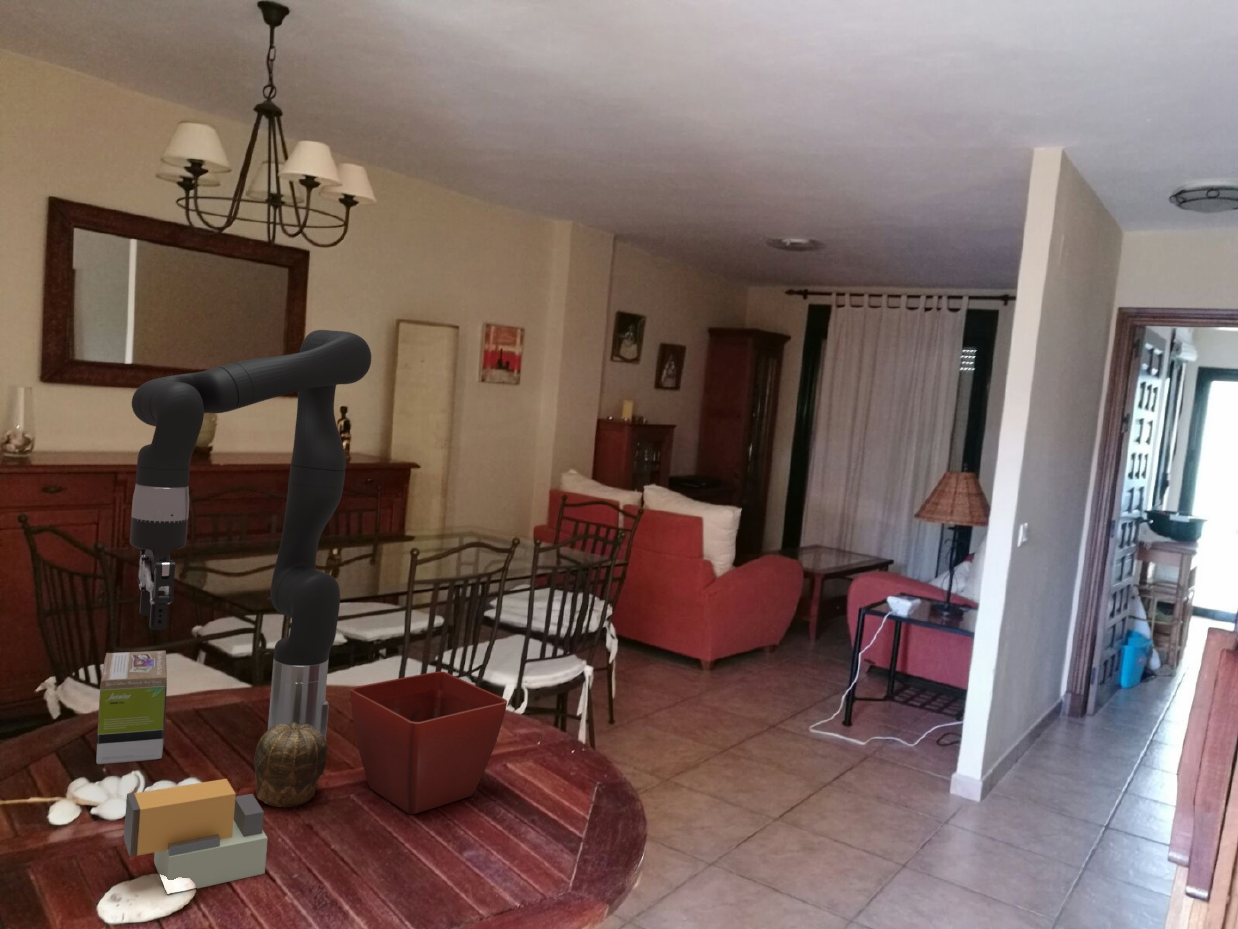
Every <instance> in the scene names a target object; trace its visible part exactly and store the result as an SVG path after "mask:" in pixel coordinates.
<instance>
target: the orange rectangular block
mask: <svg viewBox="0 0 1238 929" xmlns="http://www.w3.org/2000/svg"><path fill="white" fill-rule="evenodd" d="M236 795H237V794H236V792H235V790H234V789H233V787H232V785H231V784H230V782H229V781H228V779H227V778H223V779H222V778H221V779H216V780H209V781H203V782H195V783H192V784H191V783H190V784H186V785H185V784H184V785H178V786H173V787H166V788H161V789H153V790H147V791H141V792H128V793H126V800H125V801H126V802H125V814H124V815H125V816H124V828H123V829H124V830H123V832H124V833H123V842H124V843H125V847H126V850H127V853H128V856H129V858H132V857H138V856H142V855H147V854H153V853H155V852H158V851H163V850H168V844H169V843H174V842H179V841H184V840H190V839H195V838H200V837H205V836H211V835H216V834H219V836H220V839H225V838H230V837H232V833H233V821H234V808H235V797H236Z"/></svg>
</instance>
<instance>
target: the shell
mask: <svg viewBox="0 0 1238 929" xmlns="http://www.w3.org/2000/svg"><path fill="white" fill-rule="evenodd" d="M327 758H328V744H327V739H326V740H325V738H324V736H323V735H322V734H321V733H320V732H319V731H317V730H316V729H315V728H314V727H312V726H311V725H309V724H304V725H299V724H297V723H295V722H292V723H290V724H287V725H286V724H277V725H274V726H273V727H271V728H270V729H269V730H268V729H267V731H265V732H264V733H263V734H262V736H261V737H260V738H259V741H258V743H257V745H256V749H255V753H254V756H253V767H254V782H255V783H254V788H255V792H256V796H257V799H258V800H260V801H261V802H263V803H264V804H266V805H268V806H272V807H273V806H274V807H273V808H275V807H276V808H281V807H283V809H286V807H288V808H293V807H292V806H295V807H299V806H301V804H302V805H304V804H306V803H308V801H309V800H310V799H311V800H312V799H313V798H314V797H313V796H315V795H316V792H317V788H318V782H319V778H320V777H321V776H322V775H323V774H324V771H325V769H326V765H327ZM311 800H310V801H311ZM310 801H309V802H310ZM298 805H299V806H298Z"/></svg>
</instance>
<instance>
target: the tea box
mask: <svg viewBox="0 0 1238 929" xmlns="http://www.w3.org/2000/svg"><path fill="white" fill-rule="evenodd" d="M167 668H168V666H167V652H166V650H150V651H131V652H130V651H128V652H127V651H126V652H125V651H124V652H106V653H105V657H104V663H103V669H102V674H101V678H100V685H99V701H98V720H97V736H96V737H97V740H96V761H95V762H96V764H97V765H105V764H106V765H108V764H120V763H129V762H130V763H131V762H132V763H133V762H142V761H152V760H153V761H155V760H159V759H162V758H163V749H164V737H165V726H166V709H167V692H168V680H167V679H168V677H167V675H168V674H167V673H168V672H167Z"/></svg>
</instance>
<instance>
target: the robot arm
mask: <svg viewBox="0 0 1238 929" xmlns="http://www.w3.org/2000/svg"><path fill="white" fill-rule="evenodd" d="M371 365H372V352H371V348H370V346H369V344H368V342H367V341H366V340H365V339H364V338H363V337H361V336H360V335H358V334H356V333H354V332H350V331H344V330H330V329H329V330H328V329H317V330H313V331H312V332H309V334H308V335H306V336H305V338H304V339H303V340H302V343H301V346H300V347H299V352H296V353H291V354H285V355H276V356H269V357H259V358H251V359H245V360H239V361H235V362H231V363H227V364H224V365H219V366H217V367H213V368H210V369H205V370H203V371H198V372H189V373H183V374H175V375H168V376H163V377H157V378H154V379H153V378H152V379H151V380H147V381H146V382H144V383H142V384H141V385H140V386H138V388H136V390H135V391H134V393H133V395H132V397H131V407H132V412H133V413H134V416H135V417H137V419H139V420H140V421H141V422H143V423H144V424H146V425H148V426H152V427H155V429H154V432H153V437H152V439H151V440H152V441H151V443H150V444H145V445H143V446H142V447H141V448H140V449H139V451H138V456H137V463H136V476H135V487H134V492H133V496H132V505H131V506H132V507H131V516H130V517H131V518H130V519H131V520H130V534H129V544H130V546H131V547H133V548H136V549H139V565H138V575H137V576H138V577H137V582H138V587H139V590H140V600H139V601H140V603H139V614H140V615H141V616H143V617H144V616H149V624H148V625H149V629H150V630H152V631H161V630H165V629H167V627H168V616H169V613H168V612H169V605H171V604H173V603H174V599H175V596H174V594H175V593H174V590H175V578H176V577H175V574H176V567H177V566H176V565H177V564H176V561H174V560H173V559H172V560H171V554H170V553H171V551H173V550H179V549H183V548H185V546H186V545H187V538H188V523H189V510H190V494H189V493H190V492H189V483H190V473H191V472H190V470H191V469H190V468H191V457H192V455H193V452H194V450H195V449H196V448H195V447H196V445H197V441H198V439H199V437H200V432H201V429H202V427H203V422H204V417H205V414H222V413H223V414H224V413H228V412H231V411H235V410H238V409H241V408H244V407H248V406H251V405H254V404H257V403H261V402H264V401H267V400H271V399H274V398H278V397H281V396H285V395H287V394H288V395H289V394H292V393H297V406H296V407H297V409H296V418H295V427H294V428H295V429H294V438H293V441H294V442H293V449H292V456H291V460H290V468H289V475H288V476H289V477H288V484H287V495H286V506H285V512H284V518H283V526H282V531H281V532H282V533H281V540H280V545H279V548H278V553H277V556H276V560H275V565H274V570H273V575H272V579H271V584H270V600H271V604H272V606H273V608H274V609H275V611H277V613H279V614H280V615H283V616H285V617H288V618H291V621H290V622H291V624H290V629H289V635H288V636H286V637H284V638H281V639H278V640H277V641H276V643H275V645H274V651H273V662H272V674H271V689H270V696H269V698H270V699H269V710H268V721H267V722H268V724H267V731H268V730H269V729H270V728H271V727H273V726H274V725H277V724H286V725H287V724H290V723H292V722H295V723H297V724H299V725H304V724H309V725H311V726H312V727H314V728H315V729H316V730H317V731H319V732H320V733H321V734H322V735H323V736H324V738H325V740H326V741H327V730H328V728H327V727H328V719H329V707H330V706H329V704H330V703H329V702H328V700H326V692H327V684H328V683H327V681H328V670H329V658H330V651H331V649H332V647H333V645H334V643H335V639H336V635H337V629H338V628H337V627H338V620H339V615H340V614H339V613H340V607H341V606H340V605H341V591H340V586H339V583H338V581H337V580H336V578H335V577H334V576H333V575H331V574H329V573H326V572H324V571H321V570H318V569H316V566H317V554H318V548H319V547H318V546H319V541H320V539H321V536H322V534H323V531H324V530H325V527H326V526H327V524H328V523H329V521H330V519H331V518H332V517H333V514H334V513H335V511H336V510H337V508H338V506H339V504H340V502H341V499H342V496H343V492H344V485H345V477H346V470H347V469H346V468H347V456H346V451H345V447H344V443H343V440H342V437H341V434H340V432H339V428H338V425H337V421H336V416H335V396H336V389H337V385H338V386H339V385H349V384H354V383H357V382H359V381H360V380H362V379H363V378H364V377H365V376H366V375H367V374H368V373H369V370H370V368H371ZM160 591H161V592H164V594H159V593H160Z"/></svg>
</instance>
